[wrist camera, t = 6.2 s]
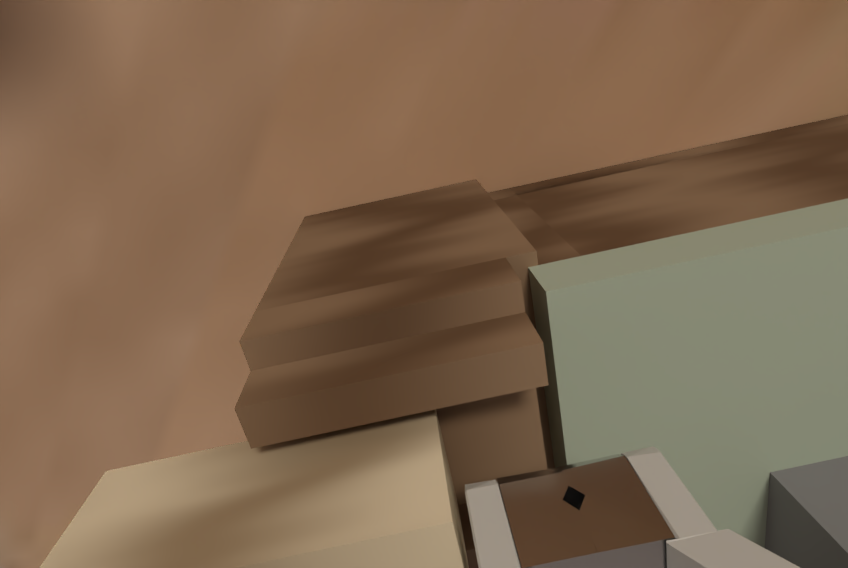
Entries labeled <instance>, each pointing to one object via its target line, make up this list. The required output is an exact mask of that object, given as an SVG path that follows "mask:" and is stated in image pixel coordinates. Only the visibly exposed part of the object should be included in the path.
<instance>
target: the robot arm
mask: <svg viewBox="0 0 848 568" xmlns="http://www.w3.org/2000/svg"><path fill="white" fill-rule="evenodd" d="M465 496H466V502H467V507H468V513H469V518H470V524H471V529H472V534H473V540H474V545H475V551H476V556H477V562H478V567H479V568H800V567H798V566H797V565H795V564H793V563H791V562H789V561H787V560H785V559H784V558H782V557H780V556H778V555H776V554H774V553H772V552H771V551H769V550H767V549H765V548H763V547H761V546H760V545H758V544H756V543H754V542H752V541H750V540H748V539H747V538H745V537H743V536H741V535H739V534H737V533H735V532H734V531H732V530H730V529H724V530H717V529H716V528H715V526H714V525H713V524H712V522H711V521H710V519H709V518H708V517H707V515H706V514H705V512H704V511H703V510H702V508H701V507H700V506H699V504H698V503H697V501H696V500H695V499H694V497H693V496H692V495H691V493H690V492H689V490H688V489H687V488H686V486H685V485H684V483H683V482H682V481H681V479H680V478H679V477H678V475H677V474H676V472H675V471H674V470H673V468H672V467H671V466H670V464H669V463H668V461H667V460H666V459H665V457H664V456H663V454H662V453H661V452H660V450H658V449H657V448H655V447H654V446H652V447H647V448H642V449H638V450H633V451H629V452H624V453H621V455H620V454H616V455H611V456H606V457H602V458H597V459H593V460H588V461H583V462H579V463H574V464H569V465H565V466H560V467H557V468H551V469H546V470H540V471H535V472H529V473H524V474H518V475H512V476H507V477H501V478H497V481H496V479H495V480H489V481H483V482H477V483H472V484H466V485H465Z"/></svg>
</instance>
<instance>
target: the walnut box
mask: <svg viewBox="0 0 848 568" xmlns="http://www.w3.org/2000/svg"><path fill="white" fill-rule="evenodd" d="M847 198H848V115H844V116H840V117H835V118H831V119H826V120H821V121H817V122H812V123H808V124H803V125H798V126H794V127H789V128H785V129H780V130H775V131H771V132H766V133H762V134H757V135H752V136H748V137H743V138H739V139H734V140H729V141H725V142H720V143H716V144H711V145H706V146H702V147H697V148H693V149H688V150H683V151H679V152H674V153H670V154H665V155H660V156H656V157H651V158H647V159H642V160H637V161H633V162H628V163H624V164H619V165H614V166H610V167H605V168H601V169H596V170H591V171H587V172H582V173H578V174H573V175H568V176H564V177H559V178H555V179H550V180H545V181H541V182H536V183H532V184H527V185H522V186H518V187H513V188H509V189H504V190H499V191H495V192H490V193H487V192H486V191H485V189H484V188H483V187H482V186H481V185H480V184H479V182H478V181H477V180H472V181H467V182H463V183H458V184H453V185H449V186H444V187H440V188H435V189H430V190H426V191H421V192H417V193H412V194H407V195H403V196H398V197H394V198H389V199H384V200H380V201H375V202H371V203H366V204H362V205H357V206H352V207H348V208H343V209H339V210H334V211H329V212H325V213H320V214H316V215H311V216H306V217H305V218H304V220H303V222H302V223H301V225H300V227H299V229H298V231H297V233H296V235H295V237H294V239H293V241H292V242H291V244H290V246H289V248H288V250H287V252H286V254H285V256H284V258H283V260H282V261H281V263H280V265H279V267H278V269H277V271H276V273H275V275H274V277H273V279H272V281H271V282H270V284H269V286H268V288H267V290H266V292H265V294H264V296H263V298H262V300H261V301H260V303H259V305H258V307H257V309H256V311H255V313H254V315H253V317H252V319H251V320H250V322H249V324H248V326H247V328H246V330H245V332H244V334H243V336H242V338H241V340H240V341H239V342H240V344H241V347H242V349H243V352H244V355H245V357H246V360H247V362H248V365H249V368H250V370H251V372H250V374H249V376H248V379H247V381H246V383H245V386H244V388H243V390H242V393H241V395H240V397H239V399H238V402H237V404H236V406H235V411H236V413H237V416H238V418H239V421H240V423H241V425H242V428H243V430H244V433H245V435H246V437H247V440H248V442H249V445H250V447H251V449H252V448H257V447H262V446H266V445H271V444H276V443H280V442H285V441H290V440H294V439H299V438H304V437H308V436H313V435H318V434H323V433H327V432H332V431H337V430H341V429H346V428H351V427H355V426H360V425H365V424H369V423H374V422H379V421H383V420H388V419H393V418H397V417H402V416H407V415H411V414H416V413H421V412H426V411H430V410H435V409H436V412H437V416H438V421H439V425H440V429H441V434H442V438H443V442H444V446H445V451H446V455H447V459H448V463H449V468H450V472H451V476H452V481H453V485H454V489H455V493H456V498H457V502H458V508H459V514H460V519H461V525H462V531H463V537H464V543H465V548H466V554H467V560H468V566H469V568H479V567H478V562H477V556H476V551H475V545H474V540H473V534H472V529H471V524H470V518H469V513H468V507H467V502H466V496H465V485H466V484H472V483H477V482H483V481H489V480H495V479H496V481H497V478H501V477H507V476H512V475H518V474H524V473H529V472H535V471H540V470H546V469H551V468H555V465H554V457H553V450H552V442H551V435H550V427H549V420H548V413H547V405H546V398H545V390H544V386H547V385H549V384H548V376H547V368H546V361H545V353H544V345H543V341H542V340H541V338H540V336H539V334H538V333H537V330H536V323H535V315H534V308H533V300H532V293H531V285H530V278H529V270H528V267H532V266H537V265H542V264H546V263H551V262H555V261H560V260H565V259H569V258H574V257H579V256H583V255H588V254H593V253H597V252H602V251H606V250H611V249H616V248H620V247H625V246H630V245H634V244H639V243H644V242H648V241H653V240H657V239H662V238H667V237H671V236H676V235H681V234H685V233H690V232H695V231H699V230H704V229H708V228H713V227H718V226H722V225H727V224H732V223H736V222H741V221H745V220H750V219H755V218H759V217H764V216H769V215H773V214H778V213H783V212H787V211H792V210H796V209H801V208H806V207H810V206H815V205H820V204H824V203H829V202H834V201H838V200H843V199H847Z"/></svg>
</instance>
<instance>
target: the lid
mask: <svg viewBox="0 0 848 568" xmlns="http://www.w3.org/2000/svg"><path fill="white" fill-rule="evenodd" d="M528 270H529V278H530V285H531V293H532V300H533V308H534V315H535V323H536V330H537V333H538V334H539V336H540V338H541V340H542V341H543V345H544V353H545V361H546V368H547V376H548V384H549V385H547V386H544V390H545V398H546V405H547V413H548V420H549V427H550V435H551V442H552V450H553V457H554V465H555V468H557V467H560V466H565V465H569V464H574V463H579V462H583V461H588V460H593V459H597V458H602V457H606V456H611V455H616V454H620V455H621V453H624V452H629V451H633V450H638V449H642V448H647V447H652V446H654V447H655V448H657V449H658V450H660V452H661V453H662V454H663V456H664V457H665V459H666V460H667V461H668V463H669V464H670V466H671V467H672V468H673V470H674V471H675V472H676V474H677V475H678V477H679V478H680V479H681V481H682V482H683V483H684V485H685V486H686V488H687V489H688V490H689V492H690V493H691V495H692V496H693V497H694V499H695V500H696V501H697V503H698V504H699V506H700V507H701V508H702V510H703V511H704V512H705V514H706V515H707V517H708V518H709V519H710V521H711V522H712V524H713V525H714V526H715V528H716V529H717V530H724V529H730V530H732V531H734V532H735V533H737V534H739V535H741V536H743V537H745V538H747V539H748V540H750V541H752V542H754V543H756V544H758V545H760V546H761V547H763V548H765V549H767V550H769V551H771V552H772V553H774V554H776V555H778V556H780V557H782V558H784V559H785V560H787V561H789V562H791V563H793V564H795V565H797V566H798V567H800V568H848V198H847V199H843V200H838V201H834V202H829V203H824V204H820V205H815V206H810V207H806V208H801V209H796V210H792V211H787V212H783V213H778V214H773V215H769V216H764V217H759V218H755V219H750V220H745V221H741V222H736V223H732V224H727V225H722V226H718V227H713V228H708V229H704V230H699V231H695V232H690V233H685V234H681V235H676V236H671V237H667V238H662V239H657V240H653V241H648V242H644V243H639V244H634V245H630V246H625V247H620V248H616V249H611V250H606V251H602V252H597V253H593V254H588V255H583V256H579V257H574V258H569V259H565V260H560V261H555V262H551V263H546V264H542V265H537V266H532V267H528Z"/></svg>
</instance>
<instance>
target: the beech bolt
mask: <svg viewBox="0 0 848 568" xmlns="http://www.w3.org/2000/svg"><path fill="white" fill-rule="evenodd" d="M40 568H469V566H468V560H467V554H466V548H465V543H464V537H463V531H462V525H461V519H460V514H459V508H458V502H457V498H456V493H455V489H454V485H453V481H452V476H451V472H450V468H449V463H448V459H447V455H446V451H445V446H444V442H443V438H442V434H441V429H440V425H439V421H438V416H437V412H436V409H435V410H430V411H426V412H421V413H416V414H411V415H407V416H402V417H397V418H393V419H388V420H383V421H379V422H374V423H369V424H365V425H360V426H355V427H351V428H346V429H341V430H337V431H332V432H327V433H323V434H318V435H313V436H308V437H304V438H299V439H294V440H290V441H285V442H280V443H276V444H271V445H266V446H262V447H257V448H252V449H251V447H250V445H249V442H248V441H245V442H240V443H235V444H231V445H226V446H221V447H217V448H212V449H207V450H203V451H198V452H193V453H189V454H184V455H179V456H175V457H170V458H165V459H161V460H156V461H151V462H147V463H142V464H137V465H132V466H128V467H123V468H118V469H114V470H109V471H106V472H105V473H104V475H103V476H102V478H101V479H100V481H99V482H98V483H97V485H96V486H95V488H94V489H93V491H92V492H91V494H90V495H89V497H88V498H87V499H86V501H85V502H84V504H83V505H82V507H81V508H80V510H79V511H78V513H77V514H76V515H75V517H74V518H73V520H72V521H71V523H70V524H69V526H68V527H67V529H66V530H65V531H64V533H63V534H62V536H61V537H60V539H59V540H58V542H57V543H56V544H55V546H54V547H53V549H52V550H51V552H50V553H49V555H48V556H47V558H46V559H45V560H44V562H43V563H42V565H41V566H40Z"/></svg>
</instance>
